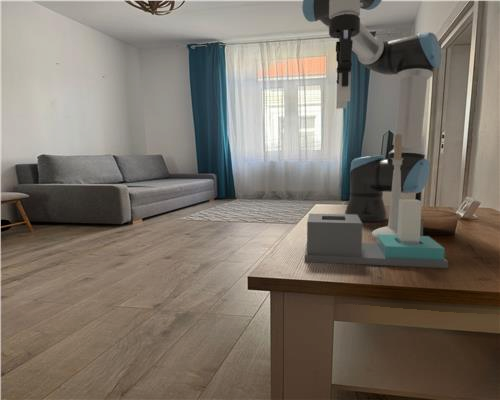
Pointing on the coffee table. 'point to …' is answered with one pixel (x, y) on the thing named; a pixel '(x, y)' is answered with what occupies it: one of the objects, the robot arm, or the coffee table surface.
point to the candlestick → (393, 192)
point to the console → (365, 245)
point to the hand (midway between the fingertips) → (342, 105)
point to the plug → (409, 221)
